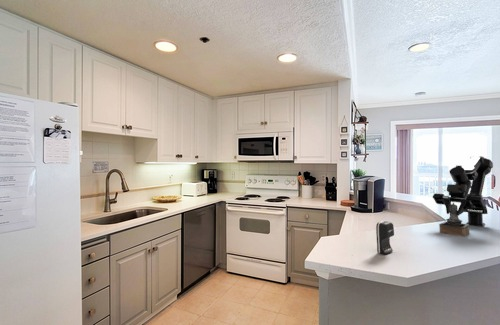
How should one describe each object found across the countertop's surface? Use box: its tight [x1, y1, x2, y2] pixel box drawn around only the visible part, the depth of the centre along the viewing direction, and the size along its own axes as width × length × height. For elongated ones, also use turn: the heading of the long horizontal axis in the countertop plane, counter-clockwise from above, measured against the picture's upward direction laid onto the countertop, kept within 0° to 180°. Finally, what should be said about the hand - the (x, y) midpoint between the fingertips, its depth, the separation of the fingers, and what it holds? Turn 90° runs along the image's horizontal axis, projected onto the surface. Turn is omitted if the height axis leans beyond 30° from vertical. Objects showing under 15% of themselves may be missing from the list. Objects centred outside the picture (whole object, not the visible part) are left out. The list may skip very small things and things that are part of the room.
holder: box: [439, 220, 470, 237], centre depth 115 cm, size 9×9×4 cm
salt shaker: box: [445, 202, 463, 226], centre depth 115 cm, size 6×6×12 cm
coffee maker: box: [375, 220, 395, 255], centre depth 91 cm, size 7×4×11 cm, turn 126°
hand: (452, 214), depth 114 cm, fingers closed on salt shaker, 4 cm apart
